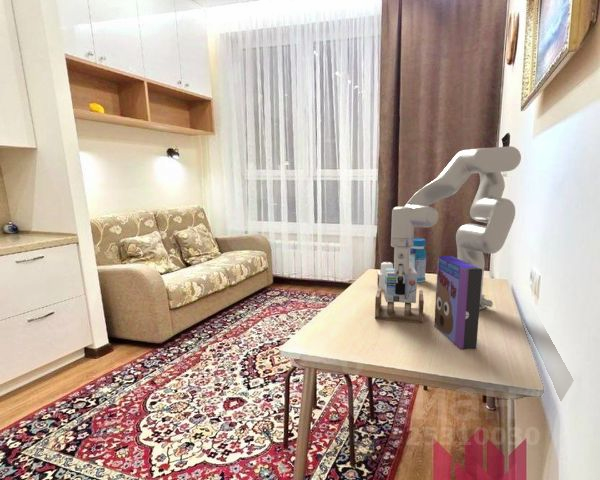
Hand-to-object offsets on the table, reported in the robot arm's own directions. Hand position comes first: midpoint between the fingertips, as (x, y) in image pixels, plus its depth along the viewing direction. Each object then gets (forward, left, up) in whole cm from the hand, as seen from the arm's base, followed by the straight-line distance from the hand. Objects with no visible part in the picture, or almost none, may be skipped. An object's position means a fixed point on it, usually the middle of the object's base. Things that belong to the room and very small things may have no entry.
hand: (400, 290), depth 135 cm
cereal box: (-22, +4, -9) cm, 24 cm away
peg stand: (0, 0, -9) cm, 9 cm away
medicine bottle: (+22, -25, -9) cm, 35 cm away
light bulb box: (0, 0, -4) cm, 4 cm away
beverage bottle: (+19, -46, -9) cm, 51 cm away
